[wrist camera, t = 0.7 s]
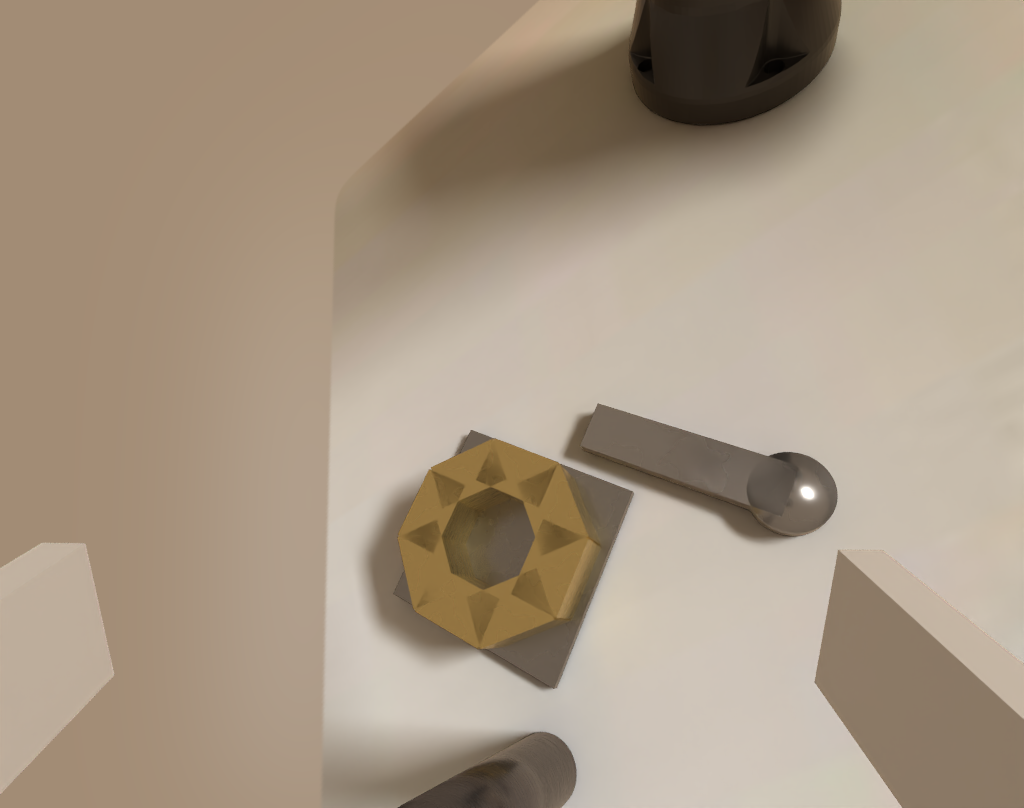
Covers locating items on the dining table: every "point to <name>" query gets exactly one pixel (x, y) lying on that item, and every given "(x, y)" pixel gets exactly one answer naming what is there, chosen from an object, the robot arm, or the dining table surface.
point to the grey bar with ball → (719, 470)
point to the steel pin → (510, 779)
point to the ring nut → (509, 551)
